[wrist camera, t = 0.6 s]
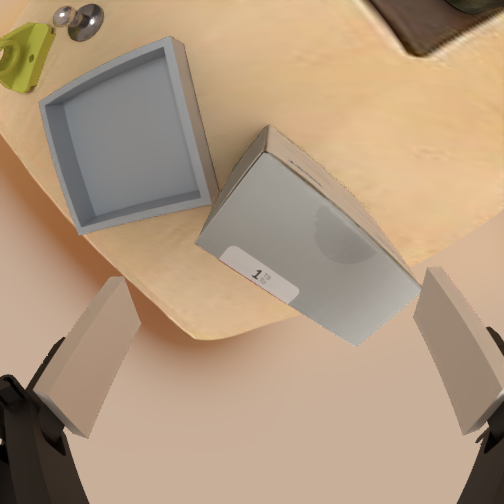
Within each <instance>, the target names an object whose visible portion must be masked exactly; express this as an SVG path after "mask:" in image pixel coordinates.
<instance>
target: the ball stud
mask: <svg viewBox="0 0 504 504" xmlns="http://www.w3.org/2000/svg"><path fill="white" fill-rule="evenodd" d="M103 18H104V13H103V10H102V8H101V7H100V6H98V5H95V4H88V5H85V6H83V7H81V8H80V9H79V10H78V11H77V12H76V10H75V9H74V8H73V7H72V6H63V7H61V8H59V9H58V10H57V11H56V12H55V14H54V16H53V23H54V25H55V26H57V27H60V28H63V27H66V26H68V33H69V36H70V37H71V39H73V40H75V41H85V40H87V39H89V38H91V37H92V36H93V35H94V34H95V33H96V32H97V31H98V30H99V28H100V27H101V25H102V22H103Z"/></svg>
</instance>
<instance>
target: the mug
mask: <svg viewBox="0 0 504 504" xmlns="http://www.w3.org/2000/svg"><path fill="white" fill-rule="evenodd" d="M446 1H448V2H449V3H450V4H451V5H453V6H454V7H456V8H458V9H460V10H462V11H464V12H466V13H470V14H477V13H481V12H484V11H488V10H492V9H496V8H500V7H504V0H446Z"/></svg>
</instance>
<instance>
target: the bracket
mask: <svg viewBox="0 0 504 504" xmlns="http://www.w3.org/2000/svg"><path fill="white" fill-rule="evenodd" d="M51 31H52V28H51V26H50V25H46V24H38V23H30V22H29V23H27V24H25V25H23V26H21V27H19V28H17V29H15V30H14V31H12V32H10V33H8V34H7V35H5V36H3V37H2V38H0V51H1V50H2V49H3V48H4V53H3V56H2V58H1V60H0V83H1V84H2V85H3V86H5V87H6V88H8V89H11V90H14V91H17V92H19V93H26V92H28V91H29V90H30V88H31V86H37V83H38V80H39V77H40V74H41V71H42V68H43V65H44V62H45V60H46V57H47V54H48V52H49V49H50V47H51V44H52V42H53V40H54V37H55V34H51Z"/></svg>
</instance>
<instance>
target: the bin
mask: <svg viewBox="0 0 504 504" xmlns="http://www.w3.org/2000/svg"><path fill="white" fill-rule="evenodd" d="M39 107H40V111H41V116H42V121H43V125H44V129H45V133H46V137H47V141H48V145H49V149H50V152H51V156H52V159H53V163H54V166H55V170H56V173H57V176H58V179H59V182H60V185H61V188H62V191H63V194H64V197H65V200H66V203H67V206H68V208H69V211H70V214H71V216H72V219H73V222H74V224H75V227H76V229H77V232H78V234H79V235H82V234H86V233H90V232H94V231H97V230H101V229H105V228H109V227H113V226H117V225H121V224H125V223H129V222H134V221H138V220H142V219H146V218H151V217H155V216H160V215H164V214H168V213H173V212H178V211H182V210H187V209H192V208H197V207H201V206H206V205H211V204H213V202H214V200H215V199H216V197H217V195H218V194H219V188H218V184H217V180H216V176H215V172H214V168H213V164H212V160H211V156H210V152H209V148H208V144H207V140H206V136H205V132H204V128H203V123H202V119H201V115H200V111H199V107H198V103H197V99H196V94H195V90H194V86H193V82H192V78H191V73H190V69H189V65H188V60H187V56H186V52H185V47H184V44H183V43H181V42H180V41H178V40H176V39H175V38H173V37H171V36H169V37H166V38H163V39H161V40H158V41H155V42H153V43H150V44H148V45H145V46H143V47H140V48H138V49H135V50H133V51H131V52H128V53H126V54H124V55H122V56H119V57H117V58H115V59H113V60H111V61H109V62H107V63H105V64H103V65H101V66H99V67H97V68H95V69H93V70H91V71H89V72H87V73H86V74H84V75H82V76H80V77H78V78H77V79H75V80H73V81H71V82H70V83H68V84H66V85H65V86H63V87H61V88H60V89H58V90H57V91H55V92H53V93H52V94H50V95H49V96H47V97H46V98H44V99H43V100H41V101H40V102H39Z"/></svg>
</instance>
